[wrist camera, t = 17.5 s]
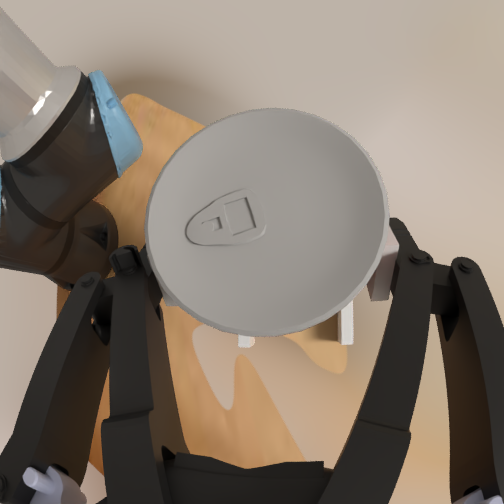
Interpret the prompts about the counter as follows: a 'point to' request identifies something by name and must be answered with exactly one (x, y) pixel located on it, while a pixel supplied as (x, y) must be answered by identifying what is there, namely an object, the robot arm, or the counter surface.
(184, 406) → the counter surface
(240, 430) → the counter surface
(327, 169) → the canned food
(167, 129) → the counter surface
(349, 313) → the channel
